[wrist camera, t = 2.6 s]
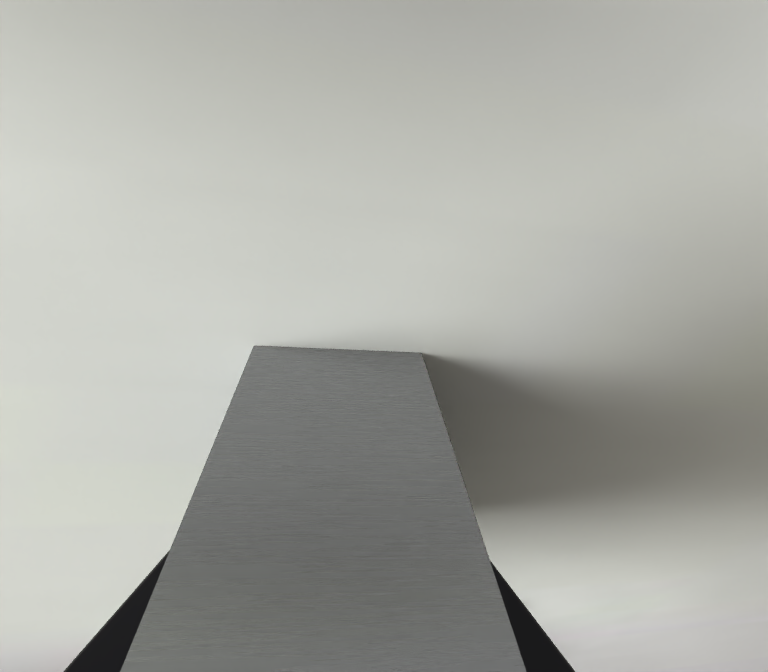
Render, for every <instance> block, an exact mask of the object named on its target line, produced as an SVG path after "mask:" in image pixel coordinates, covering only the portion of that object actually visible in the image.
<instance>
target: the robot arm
mask: <svg viewBox="0 0 768 672" xmlns="http://www.w3.org/2000/svg"><path fill="white" fill-rule="evenodd" d="M168 554H169V552H168V553H167V554H166V555H165V556H164V557H163V559H162V560H161V561H160V562H159V563H158V564H157V565H156V567H155V568H154V569H153V570H152V571H151V572H150V573H149V575H148V576H147V577H146V578H145V579H144V580H143V581H142V583H141V584H140V585H139V586H138V587H137V588H136V589H135V591H134V592H133V593H132V594H131V595H130V596H129V597H128V599H127V600H126V601H125V602H124V603H123V604H122V605H121V607H120V608H119V609H118V610H117V611H116V612H115V613H114V615H113V616H112V617H111V618H110V619H109V620H108V621H107V623H106V624H105V625H104V626H103V627H102V628H101V629H100V631H99V632H98V633H97V634H96V635H95V636H94V637H93V639H92V640H91V641H90V642H89V643H88V644H87V645H86V647H85V648H84V649H83V650H82V651H81V652H80V653H79V655H78V656H77V657H76V658H75V659H74V660H73V661H72V663H71V664H70V665H69V666H68V667H67V668H66V669H65V671H64V672H120V671H121V668H122V666H123V664H124V661H125V659H126V656H127V654H128V651H129V649H130V646H131V644H132V642H133V639H134V637H135V634H136V632H137V629H138V627H139V625H140V622H141V620H142V617H143V615H144V612H145V610H146V607H147V605H148V603H149V600H150V598H151V595H152V593H153V590H154V588H155V586H156V583H157V581H158V578H159V576H160V573H161V571H162V568H163V566H164V564H165V561H166V559H167V556H168ZM490 563H491V566H492V569H493V572H494V575H495V578H496V581H497V584H498V587H499V590H500V593H501V596H502V599H503V602H504V605H505V608H506V611H507V614H508V617H509V620H510V623H511V626H512V629H513V633H514V636H515V639H516V642H517V645H518V648H519V651H520V654H521V657H522V660H523V663H524V666H525V669H526V672H575V671H574V670H573V668H572V667H571V666H570V664H569V663H568V662H567V660H566V659H565V658H564V656H563V655H562V654H561V653H560V651H559V650H558V649H557V647H556V646H555V645H554V643H553V642H552V641H551V639H550V638H549V637H548V636H547V634H546V633H545V632H544V630H543V629H542V628H541V626H540V625H539V624H538V623H537V621H536V620H535V619H534V617H533V616H532V615H531V613H530V612H529V611H528V609H527V608H526V607H525V606H524V604H523V603H522V602H521V600H520V599H519V598H518V596H517V595H516V594H515V592H514V591H513V590H512V589H511V587H510V586H509V585H508V583H507V582H506V581H505V579H504V578H503V577H502V575H501V574H500V573H499V572H498V570H497V569H496V568H495V566H494V565H493V564H492V562H491V561H490Z"/></svg>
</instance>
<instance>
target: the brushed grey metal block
mask: <svg viewBox="0 0 768 672" xmlns="http://www.w3.org/2000/svg"><path fill="white" fill-rule="evenodd" d="M120 672H526V669H525V666H524V663H523V660H522V657H521V654H520V651H519V648H518V645H517V642H516V639H515V636H514V633H513V629H512V626H511V623H510V620H509V617H508V614H507V611H506V608H505V605H504V602H503V599H502V596H501V593H500V590H499V587H498V584H497V581H496V578H495V575H494V572H493V569H492V566H491V563H490V560H489V557H488V554H487V551H486V548H485V544H484V541H483V538H482V535H481V532H480V529H479V526H478V523H477V520H476V517H475V514H474V511H473V508H472V505H471V502H470V499H469V496H468V493H467V490H466V487H465V484H464V481H463V478H462V475H461V472H460V469H459V466H458V463H457V459H456V456H455V453H454V450H453V447H452V444H451V441H450V438H449V435H448V432H447V429H446V426H445V423H444V420H443V417H442V414H441V411H440V408H439V405H438V402H437V399H436V396H435V393H434V390H433V387H432V384H431V381H430V378H429V375H428V371H427V368H426V365H425V362H424V359H423V356H422V353H412V352H389V351H366V350H342V349H319V348H296V347H272V346H254V347H253V349H252V351H251V354H250V356H249V359H248V361H247V364H246V366H245V369H244V371H243V373H242V376H241V378H240V381H239V383H238V386H237V388H236V391H235V393H234V395H233V398H232V400H231V403H230V405H229V408H228V410H227V412H226V415H225V417H224V420H223V422H222V425H221V427H220V430H219V432H218V434H217V437H216V439H215V442H214V444H213V447H212V449H211V451H210V454H209V456H208V459H207V461H206V464H205V466H204V469H203V471H202V473H201V476H200V478H199V481H198V483H197V486H196V488H195V490H194V493H193V495H192V498H191V500H190V503H189V505H188V508H187V510H186V512H185V515H184V517H183V520H182V522H181V525H180V527H179V529H178V532H177V534H176V537H175V539H174V542H173V544H172V547H171V549H170V551H169V554H168V556H167V559H166V561H165V564H164V566H163V568H162V571H161V573H160V576H159V578H158V581H157V583H156V586H155V588H154V590H153V593H152V595H151V598H150V600H149V603H148V605H147V607H146V610H145V612H144V615H143V617H142V620H141V622H140V625H139V627H138V629H137V632H136V634H135V637H134V639H133V642H132V644H131V646H130V649H129V651H128V654H127V656H126V659H125V661H124V664H123V666H122V668H121V671H120Z"/></svg>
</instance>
